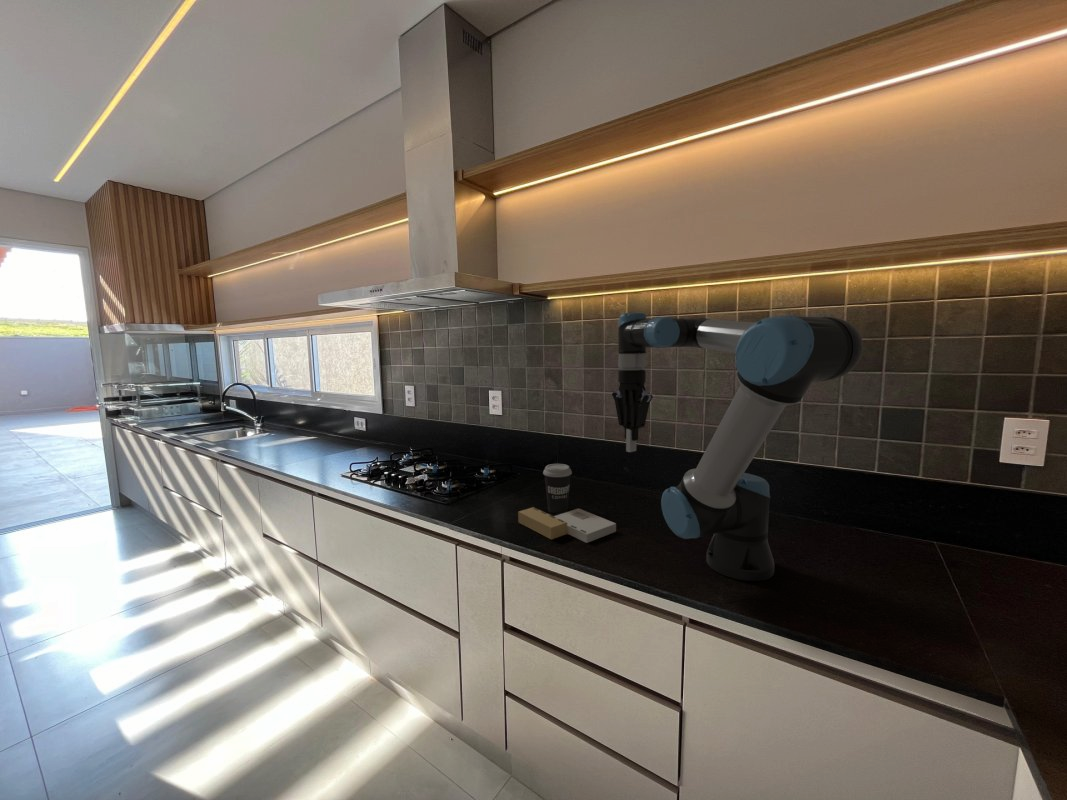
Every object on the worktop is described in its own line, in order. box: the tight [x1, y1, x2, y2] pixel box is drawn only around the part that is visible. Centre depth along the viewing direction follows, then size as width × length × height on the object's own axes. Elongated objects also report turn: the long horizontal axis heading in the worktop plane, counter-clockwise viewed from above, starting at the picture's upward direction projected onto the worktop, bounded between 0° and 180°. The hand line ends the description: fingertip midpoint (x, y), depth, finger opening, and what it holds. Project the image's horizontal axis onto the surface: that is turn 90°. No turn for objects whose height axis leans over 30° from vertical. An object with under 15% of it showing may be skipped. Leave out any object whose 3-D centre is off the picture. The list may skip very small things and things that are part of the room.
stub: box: [517, 506, 568, 540], centre depth 131 cm, size 16×6×4 cm, turn 38°
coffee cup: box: [542, 463, 573, 515], centre depth 146 cm, size 10×10×15 cm
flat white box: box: [553, 508, 617, 544], centre depth 131 cm, size 16×12×3 cm
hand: (631, 451), depth 125 cm, fingers closed
